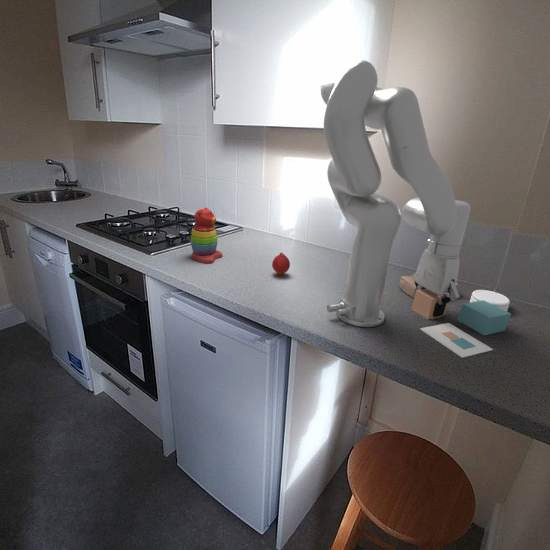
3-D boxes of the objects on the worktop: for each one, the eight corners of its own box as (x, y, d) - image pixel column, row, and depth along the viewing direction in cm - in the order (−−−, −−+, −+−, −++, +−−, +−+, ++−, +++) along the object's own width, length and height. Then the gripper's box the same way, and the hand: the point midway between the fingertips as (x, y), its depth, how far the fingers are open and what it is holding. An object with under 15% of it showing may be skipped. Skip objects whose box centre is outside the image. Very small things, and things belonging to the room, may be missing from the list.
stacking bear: (210, 264, 124) (210, 213, 118) (184, 259, 127) (183, 209, 120) (224, 255, 134) (225, 208, 127) (200, 251, 137) (199, 204, 130)
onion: (273, 270, 123) (275, 248, 120) (290, 273, 122) (292, 250, 119) (269, 276, 118) (271, 253, 114) (287, 279, 117) (289, 255, 114)
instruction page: (462, 357, 81) (462, 356, 81) (419, 329, 92) (420, 328, 91) (492, 350, 84) (493, 349, 84) (448, 323, 95) (448, 322, 95)
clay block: (427, 319, 97) (432, 299, 95) (411, 309, 102) (416, 290, 100) (443, 316, 99) (449, 296, 97) (427, 306, 104) (432, 287, 102)
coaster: (473, 296, 114) (476, 286, 113) (509, 307, 108) (513, 296, 107) (465, 306, 107) (468, 295, 105) (503, 318, 101) (507, 307, 100)
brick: (439, 286, 120) (442, 273, 119) (457, 296, 113) (461, 283, 111) (396, 289, 116) (399, 275, 114) (413, 300, 108) (416, 286, 107)
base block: (483, 335, 91) (489, 317, 89) (457, 320, 97) (462, 303, 96) (505, 330, 94) (511, 313, 92) (478, 316, 101) (483, 300, 99)
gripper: (408, 239, 99) (396, 298, 106) (460, 260, 85) (442, 327, 92) (429, 238, 102) (416, 295, 109) (482, 258, 88) (463, 323, 94)
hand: (428, 309), depth 100 cm, fingers closed on clay block, 6 cm apart
